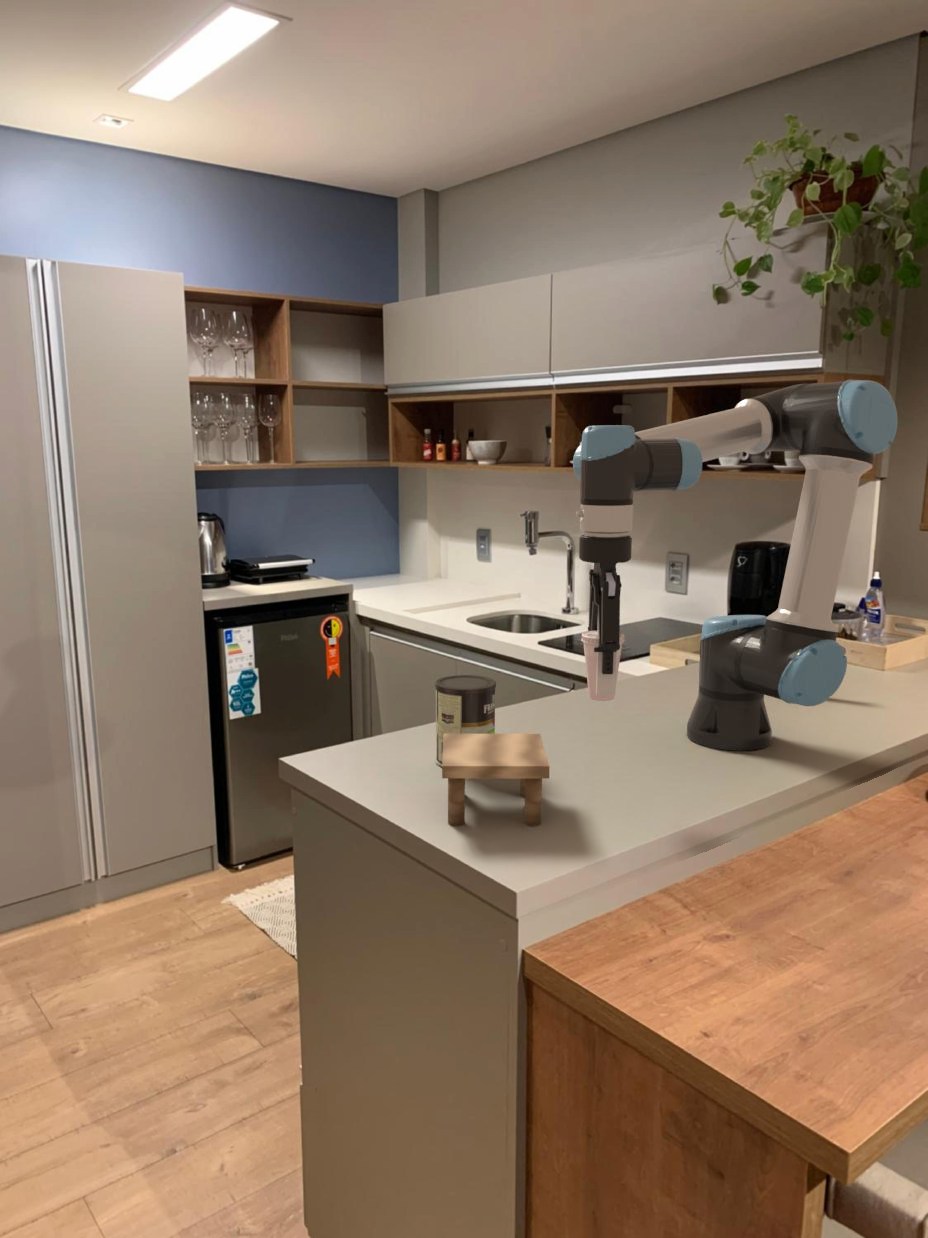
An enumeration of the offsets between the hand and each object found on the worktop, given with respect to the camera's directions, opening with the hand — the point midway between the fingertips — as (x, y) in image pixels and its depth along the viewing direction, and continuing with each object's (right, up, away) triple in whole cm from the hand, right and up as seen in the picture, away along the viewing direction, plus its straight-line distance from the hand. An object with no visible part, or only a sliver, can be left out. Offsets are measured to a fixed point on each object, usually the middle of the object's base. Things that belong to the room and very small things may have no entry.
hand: (602, 688), depth 140 cm
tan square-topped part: (-16, -18, 0) cm, 24 cm away
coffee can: (-20, -14, +21) cm, 32 cm away
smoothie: (0, -2, 0) cm, 2 cm away
